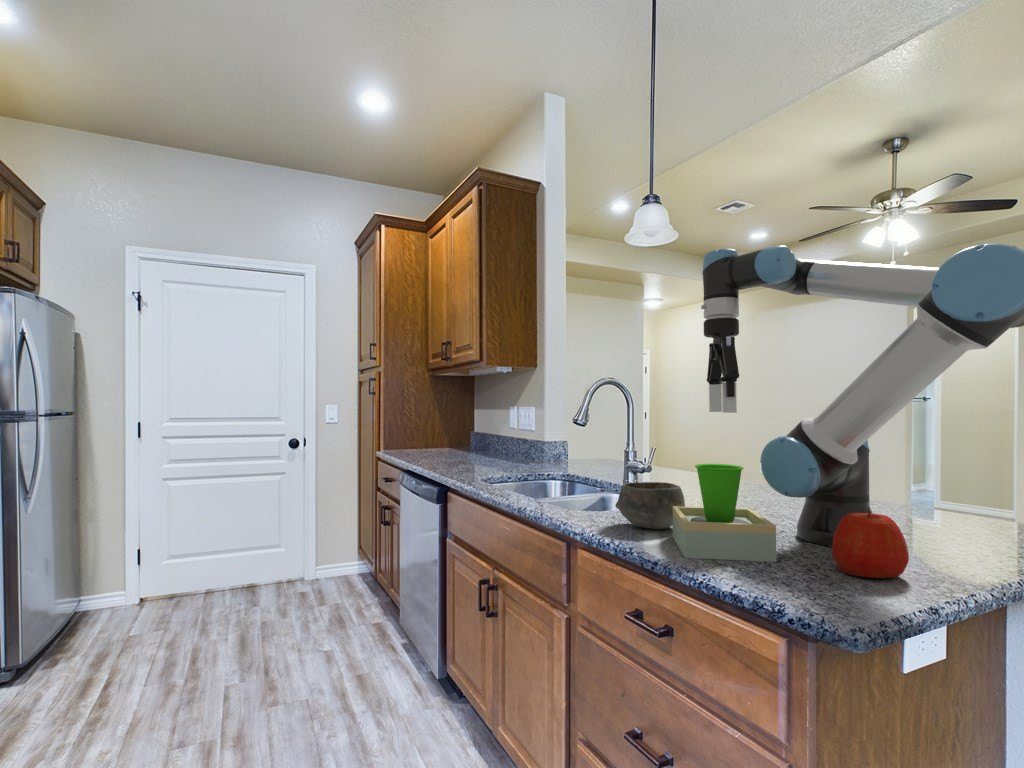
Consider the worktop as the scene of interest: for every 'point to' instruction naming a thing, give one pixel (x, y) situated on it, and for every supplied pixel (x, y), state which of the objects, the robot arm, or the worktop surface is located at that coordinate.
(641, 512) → the bowl
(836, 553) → the apple
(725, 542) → the open box
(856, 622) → the worktop surface
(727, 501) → the cup
